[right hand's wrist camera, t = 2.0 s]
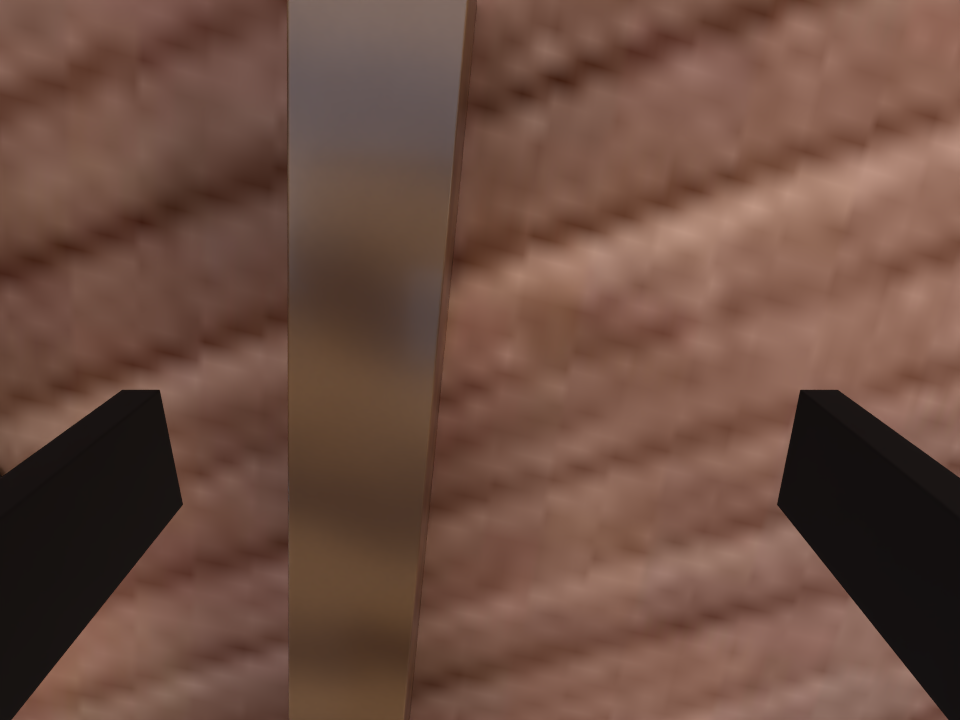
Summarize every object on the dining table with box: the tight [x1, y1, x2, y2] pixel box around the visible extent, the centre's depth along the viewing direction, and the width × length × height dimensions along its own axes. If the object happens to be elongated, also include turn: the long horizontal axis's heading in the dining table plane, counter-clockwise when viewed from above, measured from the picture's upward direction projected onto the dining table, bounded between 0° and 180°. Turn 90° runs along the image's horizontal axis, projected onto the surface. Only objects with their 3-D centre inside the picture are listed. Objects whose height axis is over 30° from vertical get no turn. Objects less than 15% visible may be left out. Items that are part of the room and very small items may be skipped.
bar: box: [287, 0, 477, 720], centre depth 29 cm, size 58×5×8 cm, turn 174°
